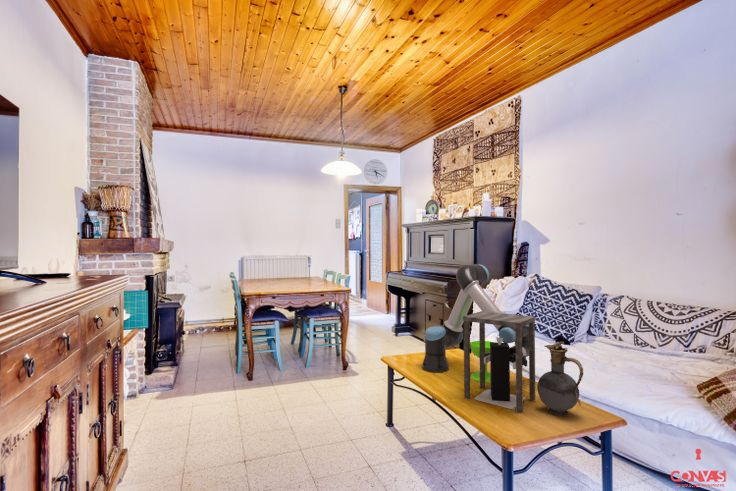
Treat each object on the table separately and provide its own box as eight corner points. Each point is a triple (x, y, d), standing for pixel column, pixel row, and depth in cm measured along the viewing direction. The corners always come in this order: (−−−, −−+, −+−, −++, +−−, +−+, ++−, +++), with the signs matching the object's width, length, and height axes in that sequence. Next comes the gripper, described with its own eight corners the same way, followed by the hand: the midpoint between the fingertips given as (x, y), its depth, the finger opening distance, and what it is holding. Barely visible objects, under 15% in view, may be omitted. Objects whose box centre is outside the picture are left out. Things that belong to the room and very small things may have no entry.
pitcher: (550, 403, 175) (549, 336, 175) (591, 419, 158) (590, 345, 158) (533, 408, 170) (532, 339, 170) (574, 425, 153) (573, 348, 153)
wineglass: (501, 384, 200) (500, 348, 200) (468, 380, 205) (468, 346, 205) (501, 374, 215) (500, 341, 215) (471, 371, 220) (470, 339, 220)
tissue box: (510, 401, 175) (509, 339, 176) (492, 400, 177) (491, 338, 177) (507, 395, 183) (507, 335, 183) (490, 394, 185) (489, 335, 185)
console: (463, 398, 181) (463, 316, 181) (482, 386, 196) (481, 311, 197) (520, 413, 164) (519, 323, 164) (535, 399, 179) (534, 316, 180)
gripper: (541, 366, 187) (526, 377, 171) (491, 357, 203) (473, 366, 187) (541, 350, 187) (526, 360, 171) (491, 342, 203) (473, 350, 187)
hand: (498, 363), depth 179 cm, fingers open, 13 cm apart
